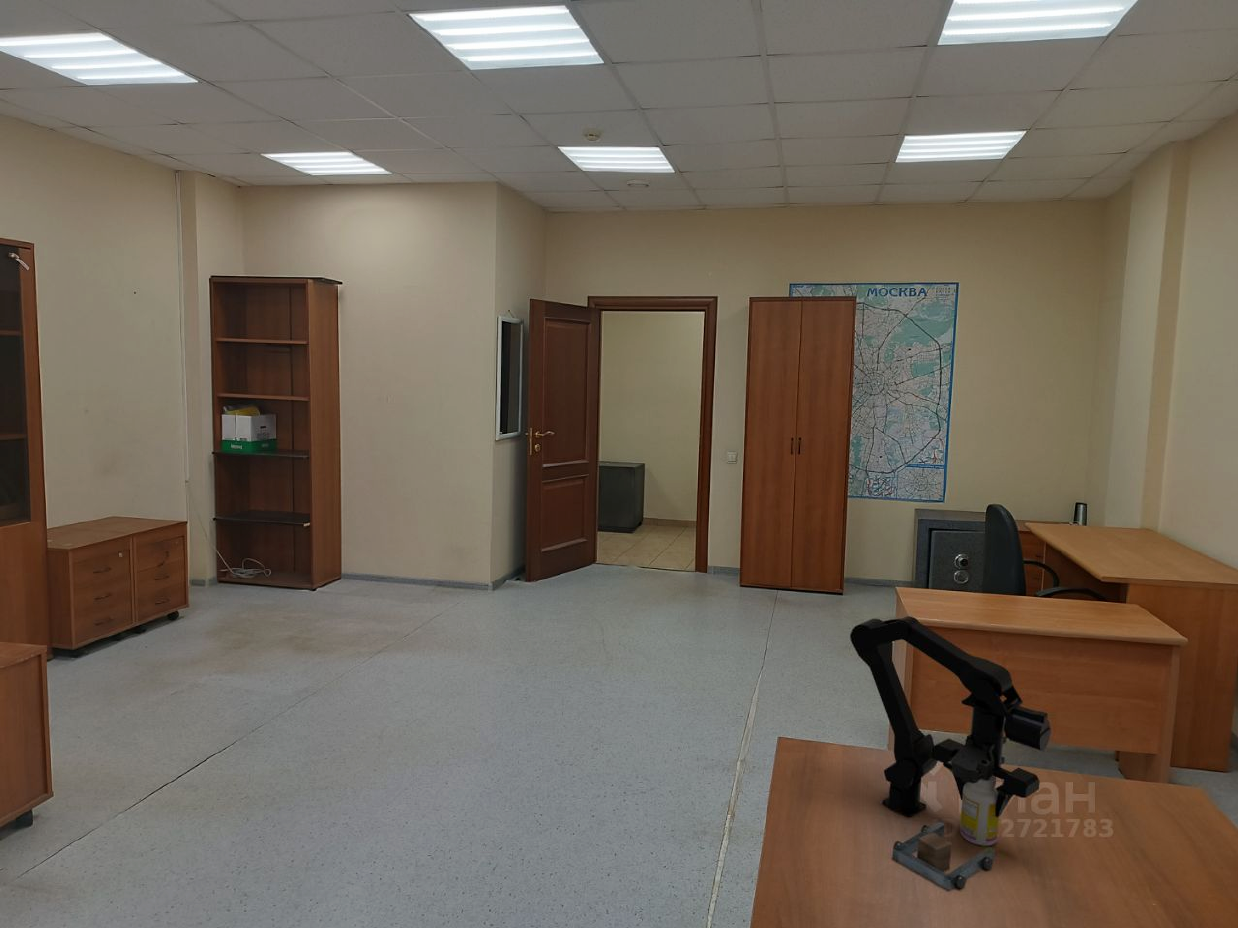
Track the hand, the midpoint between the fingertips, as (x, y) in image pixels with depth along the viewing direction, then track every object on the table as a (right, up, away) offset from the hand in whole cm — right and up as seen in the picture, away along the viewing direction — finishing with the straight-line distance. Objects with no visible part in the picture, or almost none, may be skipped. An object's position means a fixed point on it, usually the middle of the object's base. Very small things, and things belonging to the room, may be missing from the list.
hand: (980, 808), depth 160 cm
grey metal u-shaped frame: (-10, -7, -6) cm, 13 cm away
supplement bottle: (0, -6, +1) cm, 6 cm away
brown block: (-12, -7, -8) cm, 17 cm away
